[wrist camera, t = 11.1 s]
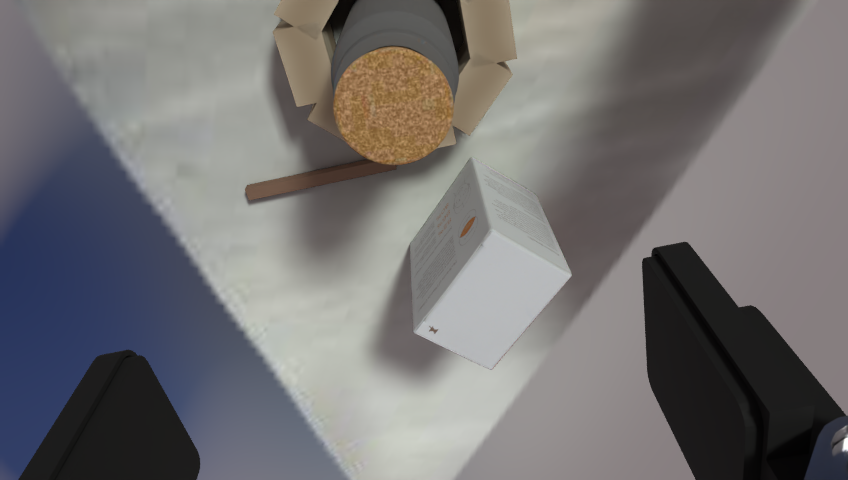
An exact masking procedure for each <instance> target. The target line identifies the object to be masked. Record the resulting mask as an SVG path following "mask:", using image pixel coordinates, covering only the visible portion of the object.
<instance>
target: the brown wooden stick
mask: <svg viewBox="0 0 848 480" xmlns="http://www.w3.org/2000/svg"><path fill="white" fill-rule="evenodd" d="M395 169H397V165H388V164H381V163H377V162H374V161H371V160H369V159H368V160H363V161H358V162H354V163H349V164H344V165H340V166H335V167H330V168H325V169H321V170H316V171H311V172H307V173H302V174H297V175H293V176H288V177H283V178H279V179H274V180H269V181H264V182H260V183H255V184H250V185H247V186H246V188H245V191H246V194H247V196H248V199H249V200H253V199H258V198H263V197H267V196H272V195H277V194H282V193H286V192H291V191H296V190H301V189H305V188H310V187H315V186H320V185H324V184H329V183H334V182H339V181H343V180H348V179H353V178H357V177H362V176H367V175H372V174H376V173H381V172H386V171H391V170H395Z"/></svg>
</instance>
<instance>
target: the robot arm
mask: <svg viewBox="0 0 848 480" xmlns="http://www.w3.org/2000/svg"><path fill="white" fill-rule="evenodd" d="M642 272H643V292H644V313H645V331H646V332H645V334H646V354H647V372H648V378H649V382H650V385H651V388H652V391H653V393H654V395H655V397H656V399H657V401H658V403H659V405H660V407H661V409H662V411H663V413H664V415H665V418H666V419H667V422H668V424H669V426H670V428H671V430H672V432H673V434H674V436H675V438H676V440H677V442H678V444H679V446H680V448H681V450H682V452H683V454H684V457H685V459H686V461H687V463H688V465H689V467H690V469H691V471H692V473H693V475H694V477H695V479H696V480H848V416H846V415H845V414H844V412H843V411H842V410H841V408H840V407H839V406H838V405H837V404H836V402H835V401H834V400H833V399H832V397H831V396H830V395H829V394H828V393H827V391H826V390H825V389H824V388H823V387H822V385H821V384H820V383H819V382H818V381H817V379H816V378H815V377H814V376H813V375H812V373H811V372H810V371H809V370H808V368H807V367H806V366H805V365H804V363H803V362H802V361H801V360H800V359H799V357H798V356H797V355H796V354H795V353H794V351H793V350H792V349H791V348H790V347H789V346H788V344H787V343H786V342H785V340H784V339H783V338H782V337H781V336H780V334H779V333H778V332H777V331H776V330H775V328H774V327H773V326H772V325H771V324H770V322H769V321H768V320H767V319H766V317H765V316H764V315H763V314H762V313H761V312H760V311H759V310H758V309H757V308H756V307H754V306H751V305H750V306H745V307H738V306H737V305H736V303H735V302H734V301H733V300H732V298H731V297H730V296H729V294H728V293H727V292H726V291H725V289H724V288H723V287H722V285H721V284H720V283H719V282H718V280H717V279H716V278H715V276H714V275H713V274H712V273H711V271H710V270H709V269H708V267H707V266H706V265H705V264H704V262H703V261H702V260H701V259H700V257H699V256H698V255H697V253H696V252H695V251H694V250H693V248H692V247H691V246H690V245H689V244H688V243H687V242H682V243H677V244H671V245H666V246H661V247H656V248H654V249H653V250H652V257H647V258H644V259H643V261H642ZM199 469H200V458H199V454H198V451H197V449H196V447H195V446H194V444H193V442H192V440H191V438H190V437H189V435H188V433H187V431H186V429H185V428H184V426H183V424H182V422H181V420H180V419H179V417H178V415H177V413H176V411H175V410H174V408H173V406H172V404H171V403H170V401H169V399H168V397H167V395H166V394H165V392H164V390H163V388H162V386H161V385H160V383H159V381H158V379H157V377H156V376H155V374H154V372H153V370H152V368H151V367H150V365H149V363H148V361H147V360H146V359H145V357H143V356H140V355H139V356H137V354H136V353H135V352H133V351H131V350H125V351H119V352H114V353H109V354H104V355H100V356H98V357H96V359H95V360H94V361H93V363H92V364H91V366H90V367H89V369H88V370H87V372H86V374H85V375H84V377H83V378H82V380H81V382H80V383H79V385H78V386H77V388H76V389H75V391H74V393H73V394H72V396H71V397H70V399H69V401H68V402H67V404H66V405H65V407H64V408H63V410H62V412H61V413H60V415H59V416H58V418H57V419H56V421H55V423H54V425H53V426H52V428H51V429H50V431H49V432H48V434H47V435H46V437H45V439H44V440H43V442H42V443H41V445H40V446H39V448H38V450H37V451H36V453H35V454H34V456H33V458H32V459H31V461H30V462H29V464H28V465H27V467H26V469H25V470H24V472H23V473H22V475H21V476H20V478H19V480H196V479H197V476H198V473H199Z"/></svg>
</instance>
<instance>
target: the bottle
mask: <svg viewBox="0 0 848 480" xmlns="http://www.w3.org/2000/svg"><path fill="white" fill-rule="evenodd" d="M331 82H332V87H333V99H334V101H333V112H334V118H335V122H336V125H337V127H338V130H339V132H340V133H341V135H342V137H343V138H344V140H345V141H346V142H347V144H348V145H349V146H350V147H351V148H352V149H353V150H355V151H356V152H357V153H358V154H360V155H362V156H363V157H365V158H367V159H369V160H371V161H374V162H377V163H381V164H388V165H402V164H407V163H411V162H415V161H417V160H420V159H422V158H424V157H425V156H427V155H428V154H430V153H431V152H433V151H434V150H435V149H436V148H437V147H438V146H439V145H440V143H441V142H442V141H443V140H444V138H445V137H446V135H447V133H448V131H449V129H450V126H451V123H452V119H453V113H454V103H455V95H456V92H457V88H458V83H459V67H458V61H457V56H456V52H455V48H454V44H453V41H452V37H451V34H450V30H449V27H448V24H447V21H446V17H445V14H444V12H443V10H442V7H441V5H440V4H439V2H438V0H356V1H355V3H354V4H353V6H352V8H351V10H350V13H349V15H348V18H347V20H346V22H345V25H344V27H343V30H342V32H341V35H340V37H339V39H338V42H337V45H336V48H335V51H334V55H333V58H332V65H331Z"/></svg>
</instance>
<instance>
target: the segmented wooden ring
mask: <svg viewBox="0 0 848 480" xmlns="http://www.w3.org/2000/svg"><path fill="white" fill-rule="evenodd" d="M338 1H339V0H281V1H280V3H279V5H278V7H277V9H276V11H275V13H274V15H276V16H278V17H279V18H281V19H282V21H281V22H280V23H279V25H278V26H277V27H276V28H275V30H274V31H273V34H274V37H275V40H276V43H277V47H278V50H279V53H280V56H281V59H282V62H283V65H284V68H285V71H286V75H287V78H288V81H289V84H290V87H291V90H292V93H293V96H294V99H295V103H296V106H297V107H300V106H304V105H309V104H313V106H312V109H311V111H310V114H309V117H308V119H307V120H309V121H310V122H312V123H314V124H316V125H317V126H319V127H321V128H322V129H324V130H326V131H328V132H329V133H331V134H333V135H335V136H336V137H338V138H340V139H342V140H343V141H345V140H344V138H343V137H342V135H341V133H340V132H339V130H338V127H337V125H336V122H335V118H334V112H333V101H334V99H333V87H332V82H331V65H332V58H333V55H334V51H335V48H336V43H335V39H334V36H333V32H332V28H331V25H330V21H329V17H330V15H331V13H332V12H333V10H334V8H335V6H336V4H337V3H338ZM456 1H457V7H458V12H459V18H460V24H461V29H462V35H463V40H464V43H463V44H462V46H461V47H460V49H459V50H458V52H457V53H456V56H457V61H458V67H459V83H458V88H457V92H456V95H455V103H454V113H453V119H452V123H451V126H450V129H449V131H448V133H447V135H446V137H445V138H444V140H443V141H442V142H441V143H440V145H439V146H438V147H437V148H440V147H445V146H450V145H454V144H456V139H455V134H454V129H453V126H455V127H456V128H458V129H460V130H461V131H463V132H464V133H466V134H468V135H469V136H470V134H471V133H472V131H473V130H474V129H475V127H476V126H477V124H478V123H479V122H480V120H481V119H482V117H483V116H484V115H485V113H486V112H487V110H488V109H489V107H490V106H491V105H492V103H493V102H494V100H495V99H496V98H497V96H498V95H499V93H500V92H501V91H502V89H503V88H504V86H505V85H506V84H507V82H508V81H509V79H510V78H511V77H512V75H513V74H512V72H511V71H510V69H509V67H508V65H507V64H506V62H505V61H508V60H512V59H517V55H516V48H515V41H514V33H513V26H512V19H511V12H510V5H509V0H456ZM345 142H346V141H345Z"/></svg>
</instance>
